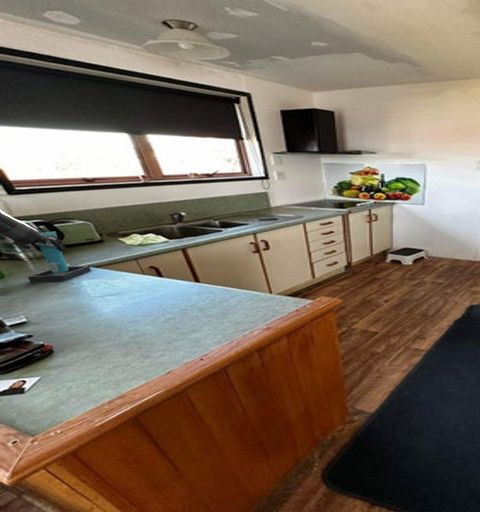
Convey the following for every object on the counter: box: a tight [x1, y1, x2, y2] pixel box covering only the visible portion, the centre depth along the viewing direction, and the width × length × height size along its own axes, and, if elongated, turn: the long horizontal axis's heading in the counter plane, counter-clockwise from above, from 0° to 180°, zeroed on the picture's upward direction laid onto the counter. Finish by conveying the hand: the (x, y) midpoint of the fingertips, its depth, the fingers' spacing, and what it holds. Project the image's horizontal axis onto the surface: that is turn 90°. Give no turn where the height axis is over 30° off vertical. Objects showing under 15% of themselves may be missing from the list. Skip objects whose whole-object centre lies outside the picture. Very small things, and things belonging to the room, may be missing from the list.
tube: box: [39, 231, 68, 274], centre depth 125 cm, size 7×5×19 cm, turn 123°
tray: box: [27, 265, 92, 283], centre depth 128 cm, size 15×13×3 cm
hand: (54, 250), depth 126 cm, fingers closed on tube, 6 cm apart
